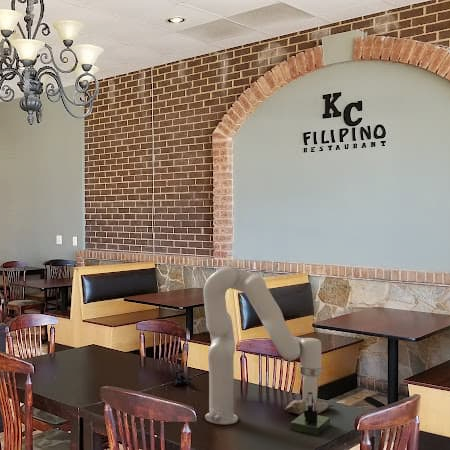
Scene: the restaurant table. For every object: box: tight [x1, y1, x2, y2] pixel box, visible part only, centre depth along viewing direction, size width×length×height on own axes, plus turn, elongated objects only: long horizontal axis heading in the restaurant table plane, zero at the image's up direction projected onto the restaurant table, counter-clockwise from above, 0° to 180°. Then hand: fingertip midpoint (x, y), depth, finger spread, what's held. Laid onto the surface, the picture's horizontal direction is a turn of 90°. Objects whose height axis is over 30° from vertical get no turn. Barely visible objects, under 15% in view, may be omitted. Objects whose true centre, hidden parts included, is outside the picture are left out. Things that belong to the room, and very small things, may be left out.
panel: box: [290, 413, 331, 437], centre depth 233 cm, size 14×10×3 cm
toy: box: [172, 368, 192, 387], centre depth 293 cm, size 6×8×15 cm
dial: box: [304, 409, 318, 421], centre depth 233 cm, size 5×5×4 cm
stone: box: [284, 399, 335, 416], centre depth 252 cm, size 21×6×10 cm
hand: (310, 418), depth 233 cm, fingers closed on dial, 4 cm apart
